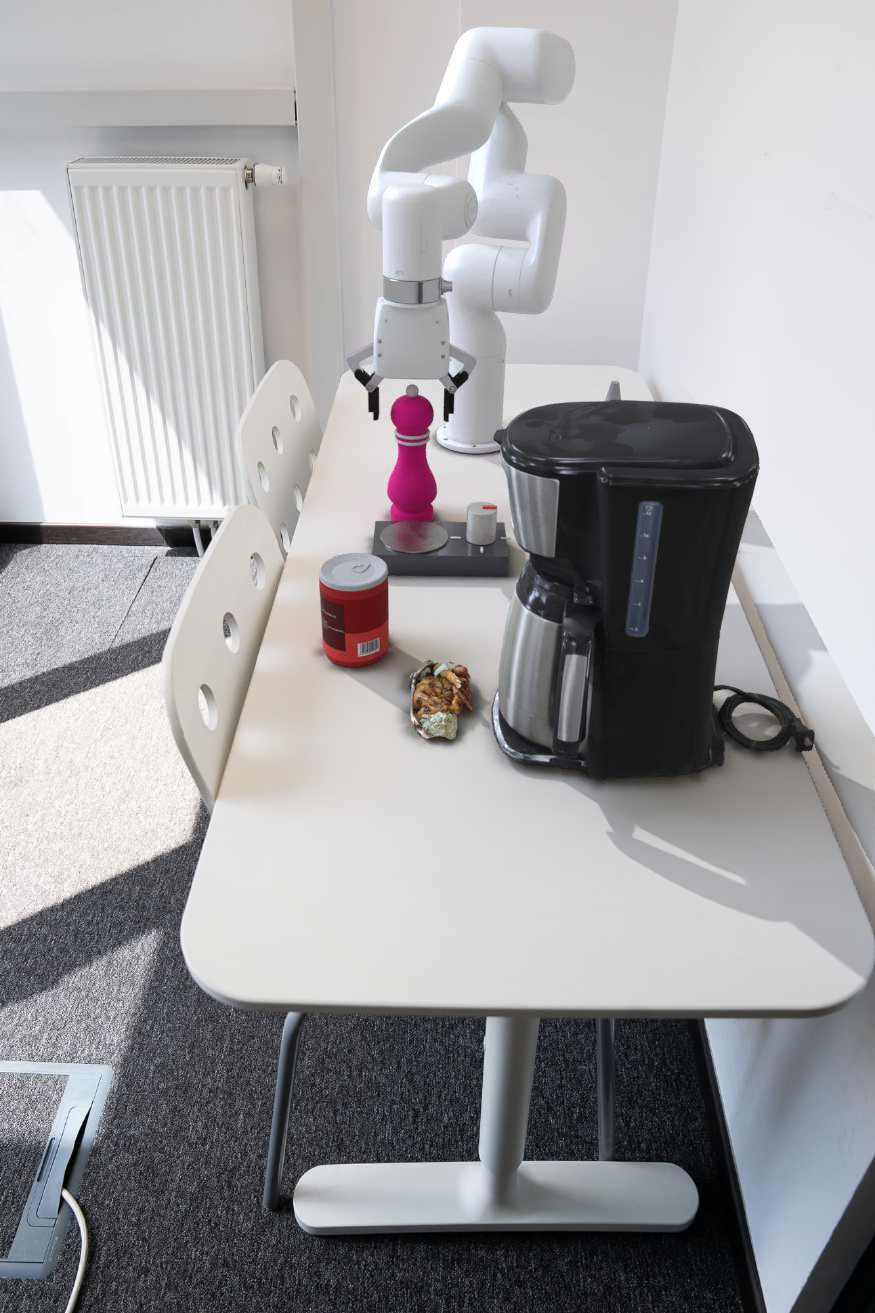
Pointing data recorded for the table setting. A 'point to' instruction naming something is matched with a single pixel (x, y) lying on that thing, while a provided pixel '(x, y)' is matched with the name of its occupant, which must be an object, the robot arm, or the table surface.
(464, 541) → the hot plate
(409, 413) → the pepper mill
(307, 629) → the table surface
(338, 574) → the canned food
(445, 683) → the foil-wrapped kebab
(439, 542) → the burner plate
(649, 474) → the coffee maker
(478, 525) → the hob knob
